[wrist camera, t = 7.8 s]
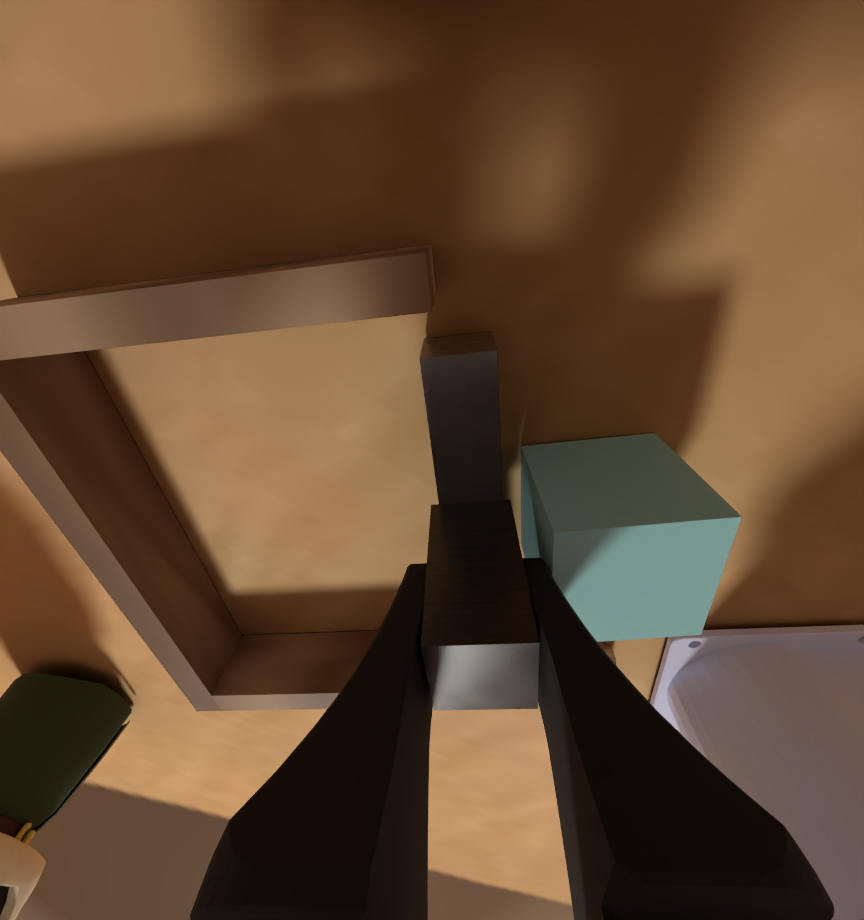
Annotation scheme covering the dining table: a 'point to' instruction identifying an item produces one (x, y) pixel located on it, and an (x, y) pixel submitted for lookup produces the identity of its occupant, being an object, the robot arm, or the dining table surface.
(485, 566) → the dark grey bar
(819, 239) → the dining table surface
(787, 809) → the robot arm
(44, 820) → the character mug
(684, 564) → the teal block
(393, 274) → the wooden u-shaped frame
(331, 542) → the dining table surface
